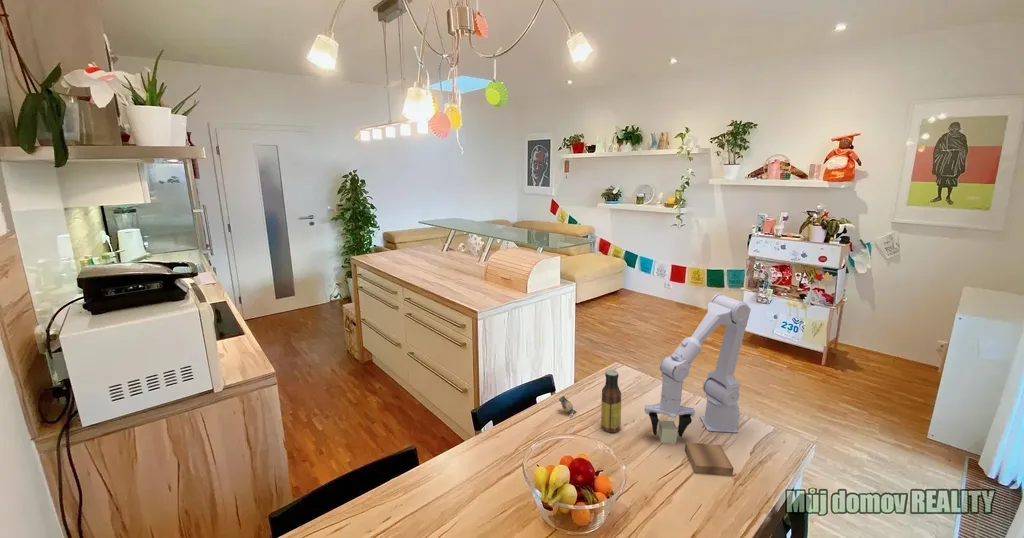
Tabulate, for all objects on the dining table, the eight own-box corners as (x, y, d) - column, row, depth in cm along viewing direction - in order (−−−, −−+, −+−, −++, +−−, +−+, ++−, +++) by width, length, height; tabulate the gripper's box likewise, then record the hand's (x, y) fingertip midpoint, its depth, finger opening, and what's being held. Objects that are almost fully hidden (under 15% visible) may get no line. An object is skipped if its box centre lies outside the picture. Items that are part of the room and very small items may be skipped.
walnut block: (719, 453, 128) (720, 444, 127) (732, 477, 119) (733, 468, 118) (684, 451, 129) (685, 442, 128) (694, 474, 120) (695, 465, 119)
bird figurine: (555, 414, 147) (556, 398, 146) (562, 408, 151) (563, 392, 150) (570, 419, 144) (571, 403, 143) (576, 412, 149) (577, 396, 148)
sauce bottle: (621, 424, 142) (625, 369, 137) (619, 435, 136) (623, 378, 131) (601, 420, 144) (604, 366, 139) (598, 431, 138) (601, 375, 133)
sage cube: (672, 434, 136) (673, 421, 135) (676, 443, 132) (677, 429, 131) (657, 434, 137) (658, 420, 135) (661, 443, 132) (662, 428, 131)
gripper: (649, 401, 127) (645, 440, 131) (700, 403, 126) (695, 443, 129) (644, 388, 134) (641, 427, 137) (692, 391, 133) (688, 429, 136)
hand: (667, 434), depth 134 cm, fingers open, 7 cm apart
